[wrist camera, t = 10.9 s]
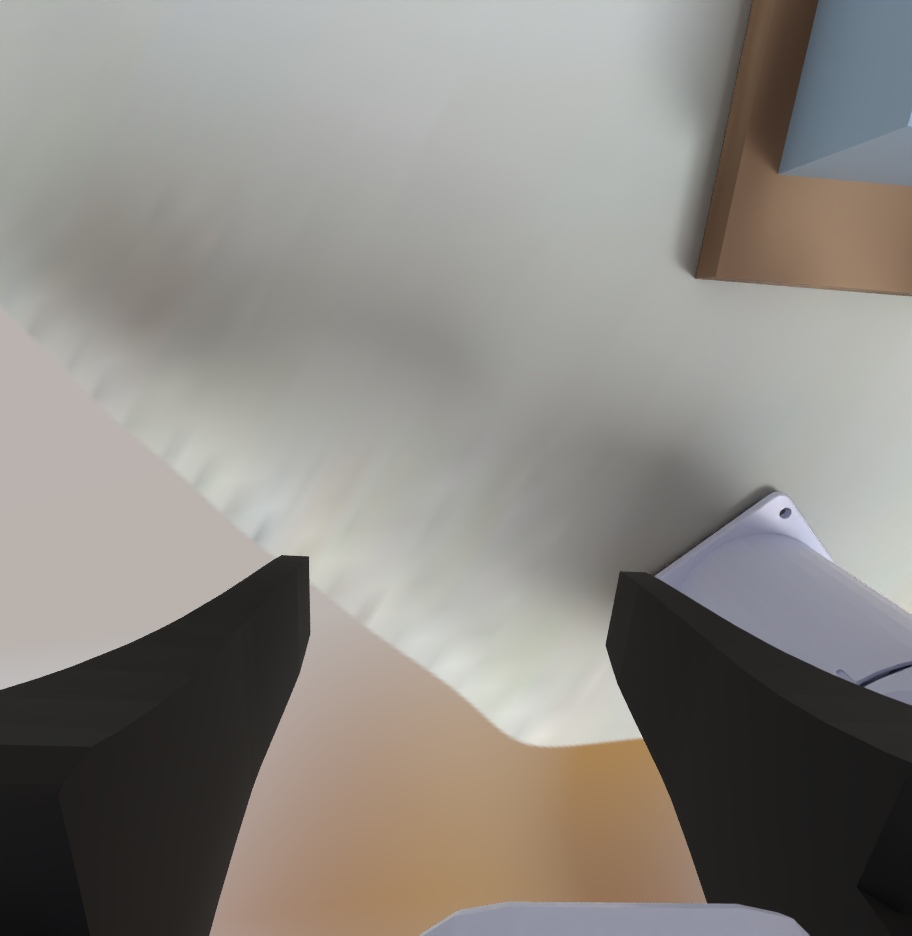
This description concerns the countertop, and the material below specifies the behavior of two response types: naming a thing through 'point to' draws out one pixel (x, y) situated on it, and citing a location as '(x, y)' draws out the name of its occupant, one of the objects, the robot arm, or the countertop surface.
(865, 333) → the countertop surface
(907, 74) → the collar
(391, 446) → the countertop surface
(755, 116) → the stub board
